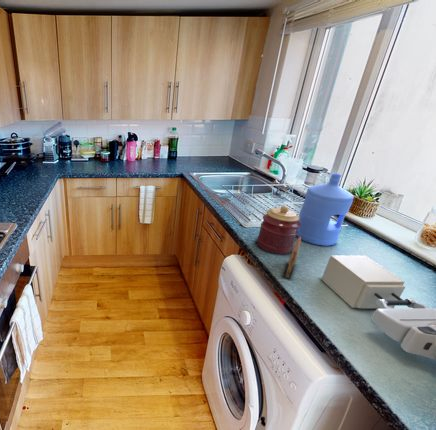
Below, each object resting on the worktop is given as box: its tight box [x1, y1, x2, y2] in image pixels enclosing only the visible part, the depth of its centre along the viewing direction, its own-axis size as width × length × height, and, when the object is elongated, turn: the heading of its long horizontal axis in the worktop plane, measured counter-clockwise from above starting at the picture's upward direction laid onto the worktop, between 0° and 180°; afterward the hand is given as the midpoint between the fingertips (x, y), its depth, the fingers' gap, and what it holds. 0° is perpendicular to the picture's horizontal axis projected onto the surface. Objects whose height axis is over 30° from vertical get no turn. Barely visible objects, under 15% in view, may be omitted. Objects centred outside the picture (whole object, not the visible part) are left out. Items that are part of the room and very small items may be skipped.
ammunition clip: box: [283, 236, 302, 280], centre depth 98 cm, size 11×2×12 cm, turn 143°
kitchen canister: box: [256, 205, 300, 255], centre depth 112 cm, size 13×13×18 cm
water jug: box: [296, 173, 355, 247], centre depth 118 cm, size 16×16×28 cm
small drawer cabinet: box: [321, 254, 405, 309], centre depth 89 cm, size 14×12×10 cm
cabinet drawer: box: [356, 284, 409, 309], centre depth 85 cm, size 17×10×8 cm, turn 1°
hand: (392, 300), depth 78 cm, fingers open, 7 cm apart
